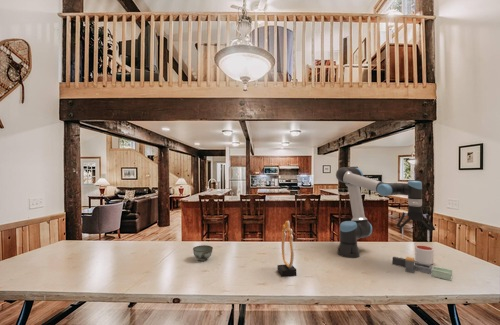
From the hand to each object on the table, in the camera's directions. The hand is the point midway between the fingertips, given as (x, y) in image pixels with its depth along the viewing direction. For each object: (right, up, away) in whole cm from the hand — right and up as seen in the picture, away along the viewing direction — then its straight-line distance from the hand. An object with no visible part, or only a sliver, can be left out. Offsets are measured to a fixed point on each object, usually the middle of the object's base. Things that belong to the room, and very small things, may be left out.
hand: (415, 239), depth 162 cm
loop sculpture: (-81, -19, -6) cm, 83 cm away
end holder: (+9, -19, -10) cm, 23 cm away
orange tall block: (-5, -19, -2) cm, 19 cm away
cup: (+14, -19, +12) cm, 26 cm away
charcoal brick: (-5, -19, +8) cm, 21 cm away
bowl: (-136, -19, +17) cm, 138 cm away
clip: (+4, -19, -1) cm, 19 cm away
